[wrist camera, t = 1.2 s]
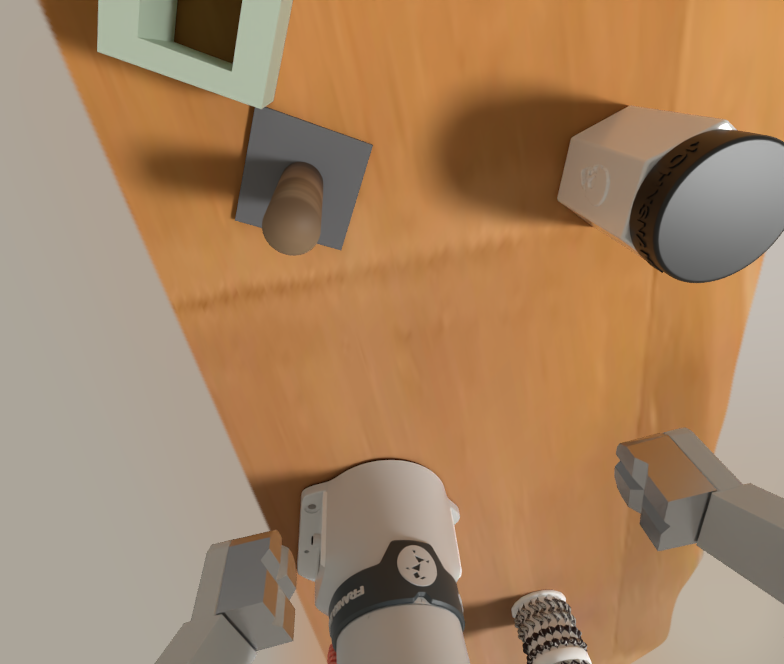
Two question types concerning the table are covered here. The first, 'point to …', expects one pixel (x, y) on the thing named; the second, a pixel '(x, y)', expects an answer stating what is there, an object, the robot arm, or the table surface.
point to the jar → (678, 190)
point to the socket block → (162, 55)
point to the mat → (302, 144)
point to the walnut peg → (295, 210)
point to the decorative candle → (548, 629)
